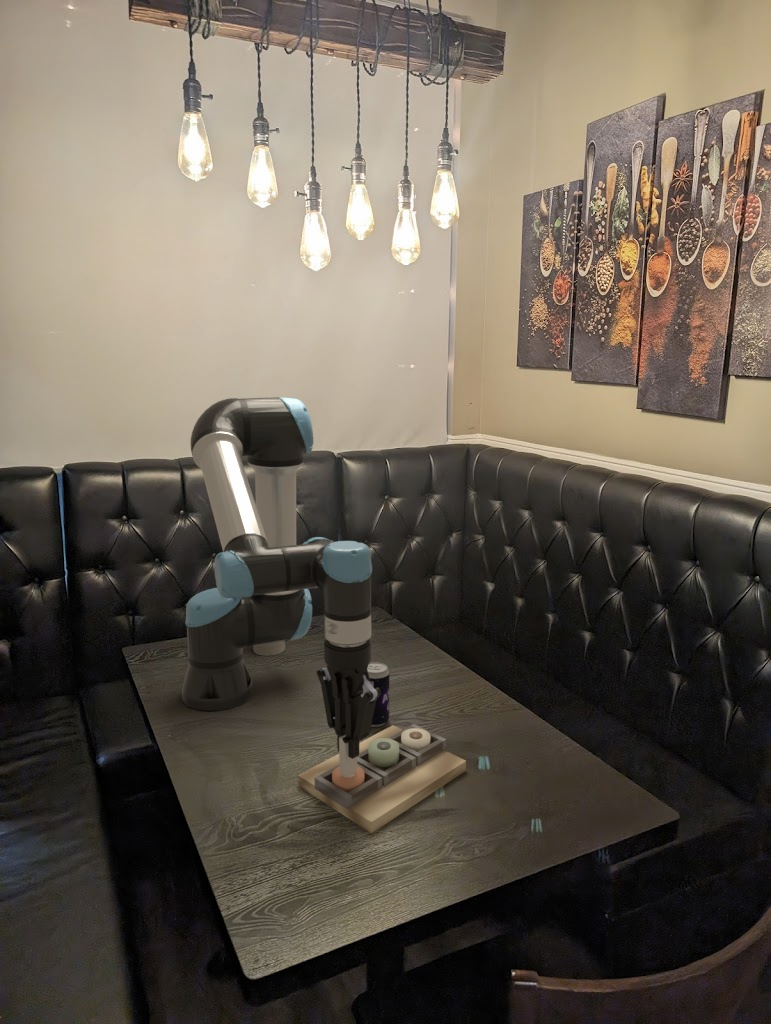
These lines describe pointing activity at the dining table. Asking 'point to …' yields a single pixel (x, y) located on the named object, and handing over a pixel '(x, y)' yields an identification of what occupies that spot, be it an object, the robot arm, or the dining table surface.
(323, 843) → the dining table surface
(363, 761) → the panel
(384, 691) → the beverage can
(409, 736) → the cream button
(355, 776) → the terracotta button
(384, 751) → the sage button
